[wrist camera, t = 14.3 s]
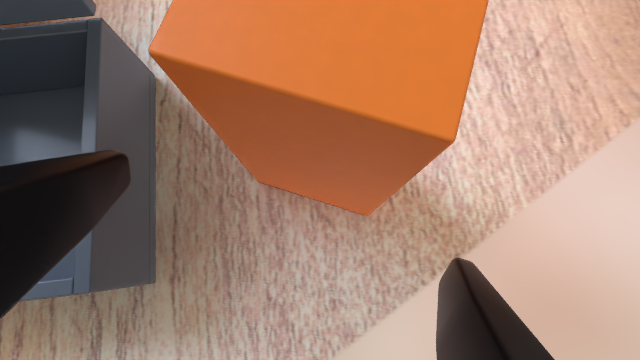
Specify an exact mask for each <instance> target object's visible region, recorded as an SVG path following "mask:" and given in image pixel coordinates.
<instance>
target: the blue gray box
mask: <svg viewBox="0 0 640 360" xmlns="http://www.w3.org/2000/svg"><path fill="white" fill-rule="evenodd" d="M109 149H113V150H116V151H120V152H123V153H125V154H127V156H128V157H129V163H130V172H131V183H130V185H129V187H128V189H127V190H126V191H125V192H124V193H123V194H122V196H121V197H120V198H119V199H118V200H117V202H116V203H115V204H114V205H113V206H112V208H111V209H110V210H109V211H108V212H107V213H106V215H105V216H104V217H103V218H102V219H101V221H100V222H99V223H98V224H97V225H96V226H95V227H94V229H93V230H92V231H91V232H90V233H89V234H88V235H87V236H86V237H85V238H84V239H83V240H82V241H81V242H80V243H78V244H77V245H76V246H75V247H74V248H73V249H72V250H71V251H70V252H69V253H68V254H67V255H66V256H65V257H64V258H63V259H62V260H61V261H60V262H59V263H58V264H57V265H56V266H55V267H54V268H53V269H52V270H51V271H50V272H49V273H48V274H47V275H46V276H45V277H43V278H42V279H41V280H40V281H39V282H38V283H37V284H36V285H35V286H34V287H33V288H32V289H31V290H30V291H29V292H28V293H27V294H26V295H25V296H24V297H23V298H22V299H21V300H20V301H29V300H37V299H45V298H53V297H62V296H70V295H78V294H86V293H94V292H100V291H106V290H112V289H119V288H125V287H131V286H137V285H144V284H150V283H155V75H154V74H153V73H152V72H151V71H150V70H149V69H148V68H147V67H146V65H145V64H144V63H143V62H142V61H141V60H140V59H139V58H138V57H137V56H136V55H135V54H134V52H133V51H132V50H131V49H130V48H129V47H128V46H127V45H126V44H125V43H124V42H123V40H122V39H121V38H120V37H119V36H118V35H117V34H116V33H115V32H114V31H113V30H112V29H111V27H110V26H109V25H108V24H107V23H106V22H105V21H104V20H103V19H102V18H94V19H88V20H77V21H67V22H57V23H47V24H37V25H27V26H18V27H8V28H0V166H6V165H12V164H18V163H25V162H31V161H38V160H44V159H51V158H57V157H64V156H70V155H77V154H83V153H89V152H96V151H102V150H109ZM20 301H19V302H20Z"/></svg>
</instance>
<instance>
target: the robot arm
mask: <svg viewBox="0 0 640 360" xmlns="http://www.w3.org/2000/svg"><path fill="white" fill-rule="evenodd" d="M130 183H131V172H130V163H129V157H128V156H127V154H125V153H123V152H120V151H116V150H113V149H109V150H102V151H96V152H89V153H83V154H77V155H70V156H64V157H57V158H51V159H44V160H38V161H31V162H25V163H18V164H12V165H6V166H0V319H1V318H2V317H3V316H4V315H5V314H6V313H7V312H8V311H10V310H11V309H12V308H13V307H14V306H15V305H16V304H17V303H18V302H19V301H20V300H21V299H22V298H23V297H24V296H25V295H26V294H27V293H28V292H29V291H30V290H31V289H32V288H33V287H34V286H35V285H36V284H37V283H38V282H39V281H40V280H41V279H42V278H43V277H45V276H46V275H47V274H48V273H49V272H50V271H51V270H52V269H53V268H54V267H55V266H56V265H57V264H58V263H59V262H60V261H61V260H62V259H63V258H64V257H65V256H66V255H67V254H68V253H69V252H70V251H71V250H72V249H73V248H74V247H75V246H76V245H77V244H78V243H80V242H81V241H82V240H83V239H84V238H85V237H86V236H87V235H88V234H89V233H90V232H91V231H92V230H93V229H94V227H95V226H96V225H97V224H98V223H99V222H100V221H101V219H102V218H103V217H104V216H105V215H106V213H107V212H108V211H109V210H110V209H111V208H112V206H113V205H114V204H115V203H116V202H117V200H118V199H119V198H120V197H121V196H122V194H123V193H124V192H125V191H126V190H127V189H128V187H129V185H130ZM436 352H437V360H554V359H553V357H552V356H551V355H550V354H549V353H548V351H547V350H546V349H545V348H544V347H543V345H542V344H541V343H540V342H539V341H538V339H537V338H536V337H535V336H534V335H533V334H532V332H531V331H530V330H529V329H528V328H527V326H526V325H525V324H524V323H523V322H522V321H521V319H520V318H519V317H518V316H517V315H516V313H515V312H514V311H513V310H512V309H511V307H509V305H508V304H507V303H506V301H505V300H504V299H503V298H502V297H501V296H500V294H499V293H498V292H497V291H496V290H495V289H494V287H493V286H492V285H491V284H490V282H489V281H488V280H487V279H486V278H485V277H484V275H483V274H482V273H481V272H480V271H479V269H478V268H477V267H476V266H475V265H474V264H473V263H472V262H470V261H468V260H464V259H461V258H458V257H457V258H454V259H453V260H452V261H451V263H450V265H449V266H448V268H447V269H446V271H445V273H444V274H443V276H442V278H441V280H440V283H439V290H438V311H437V331H436Z"/></svg>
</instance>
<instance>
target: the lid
mask: <svg viewBox="0 0 640 360" xmlns="http://www.w3.org/2000/svg"><path fill="white" fill-rule="evenodd" d="M95 11H96V4H95V3H94V2H93V0H0V25H7V24H17V23H27V22H37V21H46V20H56V19H66V18H76V17H86V16H94V15H95Z"/></svg>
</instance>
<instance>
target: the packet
mask: <svg viewBox="0 0 640 360" xmlns="http://www.w3.org/2000/svg"><path fill="white" fill-rule="evenodd" d="M488 1H489V0H173V1H172V3H171V5H170V7H169V9H168V11H167V13H166V15H165V17H164V19H163V21H162V23H161V25H160V27H159V29H158V31H157V33H156V35H155V37H154V39H153V41H152V43H151V45H150V47H149V54H150V55H151V56H152V58H153V59H154V60H155V61H156V62H157V63H158V65H159V66H160V67H161V68H162V69H163V71H164V72H165V73H166V74H167V75H168V76H169V78H170V79H171V80H172V81H173V82H174V84H175V85H176V86H177V87H178V88H179V89H180V91H181V92H182V93H183V94H184V95H185V96H186V98H187V99H188V100H189V101H190V102H191V104H192V105H193V106H194V107H195V108H196V109H197V111H198V112H199V113H200V114H201V115H202V117H203V118H204V119H205V120H206V121H207V122H208V124H209V125H210V126H211V127H212V128H213V129H214V131H215V132H216V133H217V134H218V135H219V137H220V138H221V139H222V140H223V141H224V142H225V144H226V145H227V146H228V147H229V148H230V150H231V151H232V152H233V153H234V154H235V155H236V157H237V158H238V159H239V160H240V161H241V162H242V164H243V165H244V166H245V167H246V168H247V170H248V171H249V172H250V173H251V174H252V175H253V177H254V178H255V179H256V180H257V181H258V182H261V183H264V184H267V185H270V186H274V187H277V188H280V189H283V190H286V191H289V192H293V193H296V194H299V195H302V196H305V197H308V198H312V199H315V200H318V201H321V202H324V203H327V204H331V205H334V206H337V207H340V208H343V209H346V210H350V211H353V212H356V213H359V214H362V215H365V216H368V215H369V214H370V213H372V212H373V211H374V210H375V209H376V208H377V207H379V206H380V205H381V204H382V203H383V202H384V201H386V200H387V199H388V198H389V197H390V196H392V195H393V194H394V193H395V192H396V191H397V190H399V189H400V188H401V187H402V186H403V185H404V184H406V183H407V182H408V181H409V180H410V179H411V178H413V177H414V176H415V175H416V174H417V173H418V172H420V171H421V170H422V169H423V168H424V167H425V166H427V165H428V164H429V163H430V162H431V161H432V160H434V159H435V158H436V157H437V156H438V155H439V154H441V153H442V152H443V151H444V150H445V149H446V148H448V147H449V146H450V145H451V144H452V143H453V142H454V141H455V139H456V135H457V131H458V127H459V123H460V118H461V114H462V110H463V106H464V102H465V97H466V93H467V89H468V85H469V81H470V76H471V72H472V68H473V64H474V60H475V56H476V51H477V47H478V43H479V39H480V35H481V30H482V26H483V22H484V18H485V14H486V9H487V5H488Z"/></svg>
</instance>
